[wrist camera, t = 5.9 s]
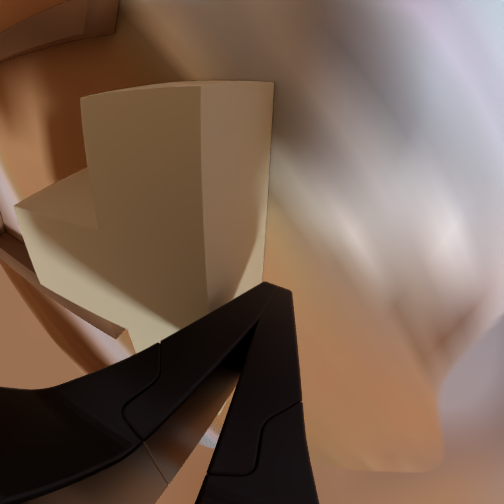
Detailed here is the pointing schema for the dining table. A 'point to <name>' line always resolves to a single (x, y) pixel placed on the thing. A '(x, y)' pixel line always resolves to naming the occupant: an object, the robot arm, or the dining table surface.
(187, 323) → the T block
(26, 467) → the robot arm
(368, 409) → the dining table surface
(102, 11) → the frame
